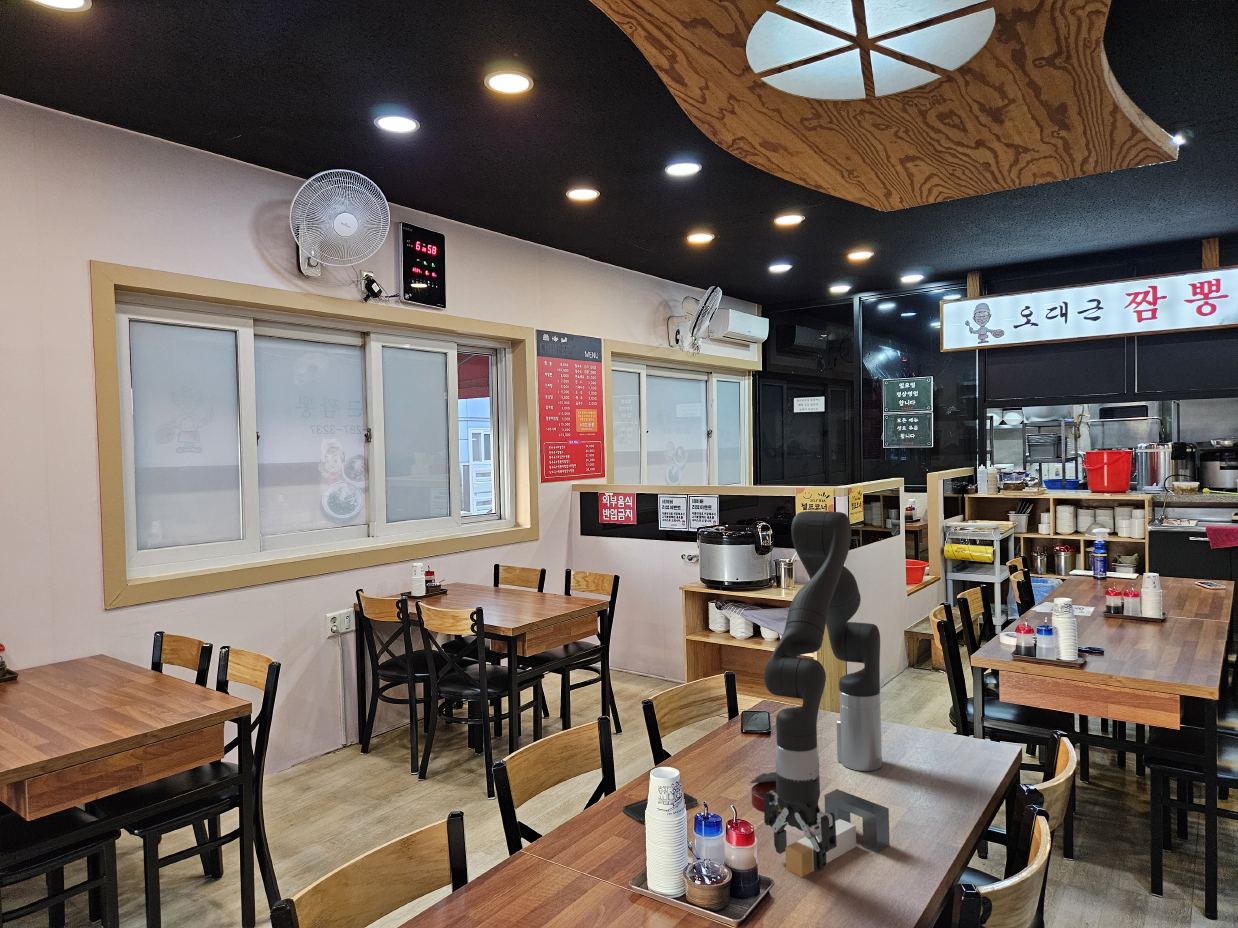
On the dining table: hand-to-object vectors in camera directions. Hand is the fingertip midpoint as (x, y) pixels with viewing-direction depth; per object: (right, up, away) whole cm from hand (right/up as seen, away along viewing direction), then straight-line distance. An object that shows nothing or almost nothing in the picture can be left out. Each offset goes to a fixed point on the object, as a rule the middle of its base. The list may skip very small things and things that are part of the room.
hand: (800, 860), depth 140 cm
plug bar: (+5, -1, +4) cm, 6 cm away
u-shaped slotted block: (+13, -1, +11) cm, 17 cm away
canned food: (+1, -2, +26) cm, 26 cm away
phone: (-23, -3, +26) cm, 35 cm away
